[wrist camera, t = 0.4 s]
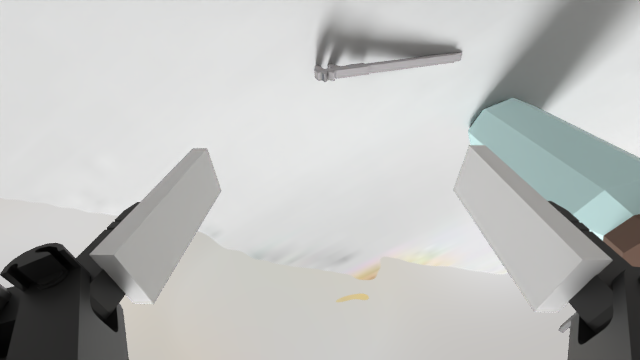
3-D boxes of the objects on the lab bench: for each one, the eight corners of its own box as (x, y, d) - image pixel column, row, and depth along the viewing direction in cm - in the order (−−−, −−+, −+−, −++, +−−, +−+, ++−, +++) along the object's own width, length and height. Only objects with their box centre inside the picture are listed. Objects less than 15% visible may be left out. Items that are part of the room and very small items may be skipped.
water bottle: (473, 97, 37) (643, 207, 17) (543, 92, 37) (808, 201, 16) (457, 154, 43) (570, 287, 23) (517, 151, 42) (689, 286, 22)
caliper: (316, 72, 36) (313, 83, 31) (315, 64, 36) (312, 74, 31) (459, 59, 35) (481, 69, 30) (461, 51, 34) (483, 59, 29)
